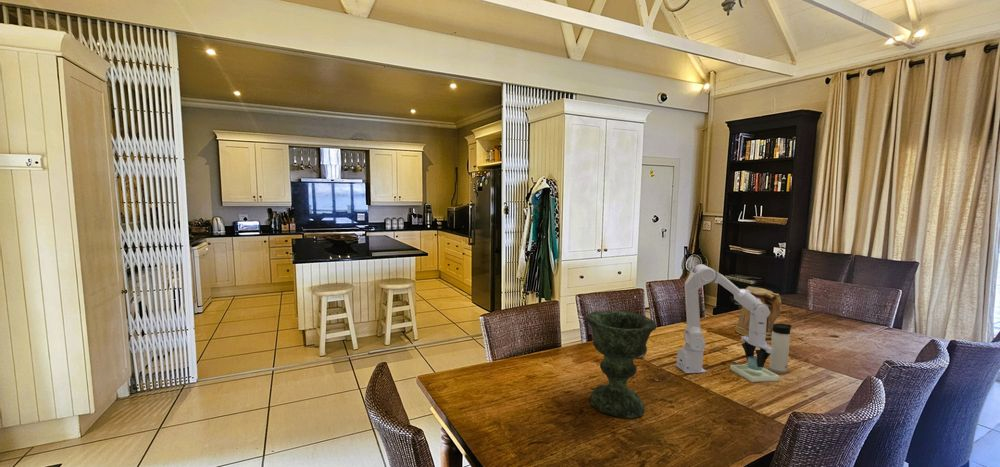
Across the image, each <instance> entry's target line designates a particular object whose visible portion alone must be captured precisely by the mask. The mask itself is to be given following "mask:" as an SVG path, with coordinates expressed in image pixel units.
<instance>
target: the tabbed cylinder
mask: <svg viewBox="0 0 1000 467" xmlns="http://www.w3.org/2000/svg"><path fill="white" fill-rule="evenodd" d="M746 363H747V367H748V368H750V369H753V370H762V368H765V369H766V364H764V366H763V367H758V366H757V355H756V356H755V355H754V356H748V361H746Z"/></svg>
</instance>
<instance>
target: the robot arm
mask: <svg viewBox="0 0 1000 467" xmlns="http://www.w3.org/2000/svg"><path fill="white" fill-rule="evenodd" d="M710 283H713V284H719V285H720V286H722V287H723V288H724V289H726V290H727V291H729V292H730V293H731V294H732V295H733V299H734V300H735V301H736V302H737V303H738V304H739V305H741V307H742V306H744V307H745V308H746V309H748V310H749V312H751V313H750V325H749V337H747V336H744V335H741V337H740V341H741V346H742V349H743V351H744V354H745V358H746V362H748V356H755V354H756V357H757V366H758V367H763V366H764V365H766V361H767V359H768V358H770V354H771V353H773V348H771V345H770V346H769V345H768V342H767V341H766V340H765V336H766V323H767V317H768V316H769V315H770V311H769V308H768V306H767V305H765V304H763V303H761V302H760V301H761V300H760V299H759V298H756V297H754V296H753V295H752V294H751V292H750V291H749V290H745V289H746V288H739V286H736V285H735V284H734V283H733V282H732V281H731V280H729V279H728V278H727V277H726V276H725V275H723V274H721V273H720V272H718V271H716V270H714V269H713V268H712V267H709V266H707V265H706V264H702V263H701V264H700V263H699V264H697V265H695V266H694V267H692V269H691V270H690V272H689V275H688V277H687V278H686V280H685V282H684V298H685V312H686V313H685V314H686V316H685V317H686V326H685V332H684V334H683V338H684V341H685V344H684V345H683V347H682V348H679V349H678V350H677V352H676V364H675V367H677V368H678V369H679V370H681V371H682V372H684V373H686V374H696V373H697V374H699V373H700V374H701V373H708V371H707V370H706V369H705V368H703V365H704V364H703V362H704V361H703V360H704V349H705V347H706V340H705V339H704V337H703V332H702V328H701V316H700V300H699V290H700V289H701V288H702V287H703V286H706V285H707V284H710ZM753 314H754V315H753ZM757 348H758V349H757Z"/></svg>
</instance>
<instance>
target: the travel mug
mask: <svg viewBox="0 0 1000 467" xmlns="http://www.w3.org/2000/svg"><path fill="white" fill-rule="evenodd" d="M791 329H792V325H791V324H788V323H774V324H773V329H772V339H770V340H771V341H770V347H771V348H773V353H771V354H770V355H769V366H768V368H769V369H768V370H769V371H771V372H773V373H775V374H776V373H777V374H782V375H783V374H784V375H785V374H787V373H788V366H789V355H790V353H789V352H790V343H791Z"/></svg>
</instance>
